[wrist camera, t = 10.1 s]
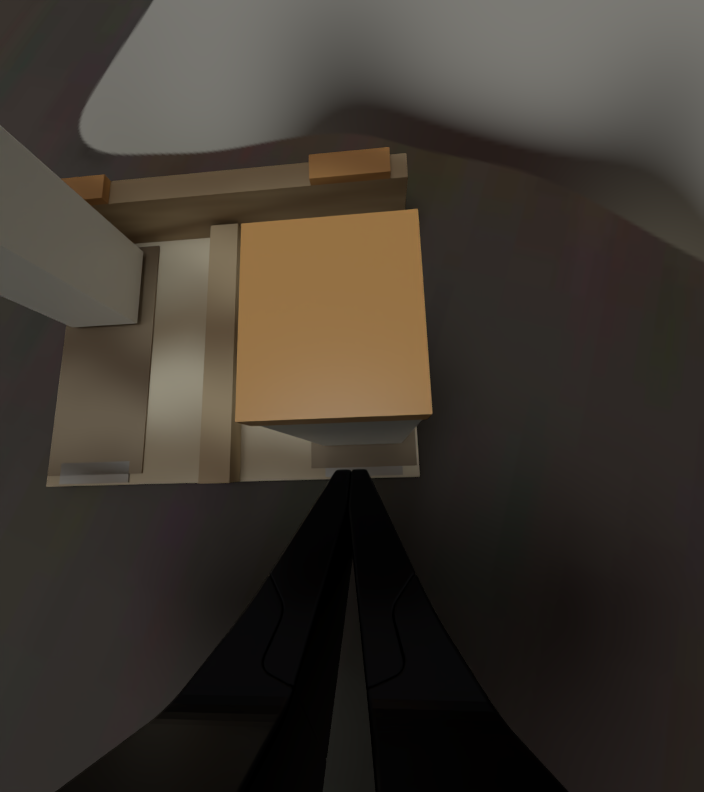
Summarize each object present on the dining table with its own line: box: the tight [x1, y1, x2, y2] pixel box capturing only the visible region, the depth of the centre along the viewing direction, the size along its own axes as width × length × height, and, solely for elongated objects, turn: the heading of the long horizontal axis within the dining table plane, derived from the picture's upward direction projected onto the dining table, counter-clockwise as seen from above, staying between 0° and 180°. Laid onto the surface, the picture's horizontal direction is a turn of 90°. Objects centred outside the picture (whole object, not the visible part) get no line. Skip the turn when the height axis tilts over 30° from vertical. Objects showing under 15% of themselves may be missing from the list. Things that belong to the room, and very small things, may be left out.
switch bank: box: [46, 147, 420, 487], centre depth 17 cm, size 14×18×4 cm
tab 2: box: [235, 209, 432, 446], centre depth 12 cm, size 4×4×10 cm
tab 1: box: [0, 126, 143, 327], centre depth 14 cm, size 4×4×10 cm
